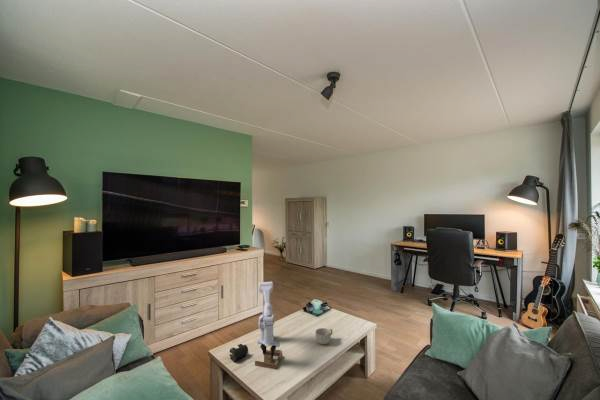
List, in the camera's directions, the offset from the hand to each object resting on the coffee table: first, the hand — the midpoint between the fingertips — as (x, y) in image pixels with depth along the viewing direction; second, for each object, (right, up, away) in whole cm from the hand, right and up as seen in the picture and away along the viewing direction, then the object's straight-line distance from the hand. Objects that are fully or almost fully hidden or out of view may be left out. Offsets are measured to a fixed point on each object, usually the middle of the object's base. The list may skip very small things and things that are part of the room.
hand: (268, 356), depth 162 cm
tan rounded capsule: (+2, -3, +10) cm, 10 cm away
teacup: (+38, -3, +22) cm, 44 cm away
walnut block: (0, -3, 0) cm, 3 cm away
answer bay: (0, -3, 0) cm, 3 cm away
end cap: (-20, -3, +3) cm, 20 cm away
